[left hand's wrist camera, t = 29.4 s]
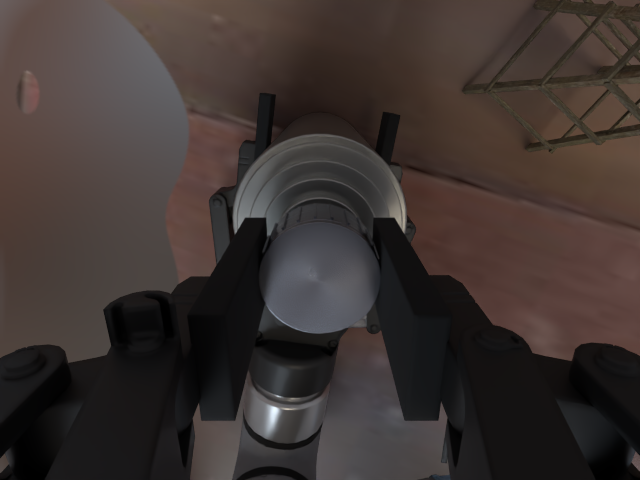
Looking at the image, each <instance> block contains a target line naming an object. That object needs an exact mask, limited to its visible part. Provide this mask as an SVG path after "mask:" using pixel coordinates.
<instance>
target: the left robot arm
mask: <svg viewBox="0 0 640 480" xmlns="http://www.w3.org/2000/svg"><path fill="white" fill-rule="evenodd" d="M266 239H267V221H266V217H245V219H244V220H243V222H242V224H241V225H240V227H239V229H238V230H237V232H236V234H235V235H234V237H233V239H232V240H231V242H230V244H229V245H228V247H227V249H226V251H225V252H224V254H223V256H222V257H221V259H220V261H219V262H218V264H217V266H216V267H215V269H214V271H213V272H212V274H211V276H210V277H190V278H188V279H186V280H185V281H183V282H181V283H180V284H178V285H177V287H176V288H175V289H174V291H173V292H172V293H171V294H170V293H167V292H163V291H142V292H136V293H132V294H129V295H126V296H123V297H120V298H118V299H116V300H115V301H113V302H111V303H110V304H109V305H108V306H107V307H106V308H105V309H104V310H103V311H104V315H105V320H106V324H107V329H108V333H109V338H110V342H111V348H110V350H109V352H108V354H107V355H105V356H101V357H97V358H92V359H87V360H82V361H77V362H71V363H68V361H67V357H66V353H65V351H64V350H63V349H62V348H61V347H59V346H54V345H38V346H36V345H34V346H29V347H27V348H21V349H18V350H16V351H15V352H13V353H10V354H8V355H5V356H3V357H1V358H0V458H1V457H2V456H3V455H4V454H5V455H6V457H7V460H8V463H9V465H8V466H7V467H6V468H5V469H4V470H3V471H2V472H1V473H0V480H190V472H191V464H192V456H193V448H194V440H195V433H194V426H193V419H192V418H193V416H194V413H195V411H196V408H197V405H198V403H199V406H200V414H201V421H235V419H236V415H237V411H238V407H239V404H240V400H241V396H242V392H243V388H244V384H245V380H246V376H247V372H248V369H249V365H250V361H251V357H252V353H253V349H254V345H255V341H256V337H257V334H258V330H259V326H260V322H261V318H262V314H263V310H264V306H265V303H264V301H263V299H262V296H261V294H260V285H259V265H260V262H261V259H262V256H263V254H261V253H262V250H263V247H264V245H265V242H266ZM372 240H373V242H374V244H375V247H376V250H377V253H378V256H379V264H380V267H381V281H380V292H379V295H378V297H377V299H376V302H375V307H376V311H377V315H378V319H379V323H380V327H381V331H382V335H383V338H384V342H385V346H386V350H387V354H388V358H389V362H390V366H391V370H392V373H393V377H394V381H395V385H396V389H397V393H398V397H399V401H400V405H401V408H402V412H403V416H404V420H405V421H438V419H439V412H440V404H441V402H442V404H443V407H444V409H445V412H446V414H447V417H448V419H447V426H446V432H445V439H444V446H443V453H442V460H441V462H442V463H447V458H448V463H449V471H450V479H451V480H640V471H639V470H638V469H637V468H636V467H635V466H634V465H633V464H632V463H631V462H632V459H633V456H634V454H635V451H636V452H637V453H638V454H639V455H640V356H639V355H637V354H635V353H632V352H630V351H628V350H626V349H624V348H622V347H619V346H613V345H611V344H602V343H587V344H581V345H580V346H579V347H577V348H576V349H575V352H574V356H573V359H572V361H568V360H562V359H557V358H552V357H547V356H542V355H538V354H534V353H532V351H531V349H530V347H529V345H528V344H527V343H526V341H525V340H524V339H523V338H522V337H520V336H519V335H517V334H516V333H514V332H513V331H510V330H508V329H505V328H503V327H500V326H495V325H493V324H492V323H491V322H490V320H489V319H488V318H487V316H486V315H485V314H484V312H483V311H482V309H481V308H480V307H479V305H478V304H477V303H475V300H474V299H473V297H472V296H471V295H469V292H468V291H467V289H466V288H465V287H464V285H463V284H462V283H461V282H459V281H457V280H456V279H454V278H453V277H451V276H449V275H428V273H427V271H426V269H425V268H424V266H423V264H422V263H421V261H420V259H419V258H418V256H417V254H416V253H415V251H414V249H413V248H412V246H411V244H410V243H409V241H408V239H407V237H406V236H405V234H404V232H403V231H402V229H401V227H400V226H399V224H398V222H397V221H396V219H395V217H373V236H372Z"/></svg>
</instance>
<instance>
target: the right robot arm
mask: <svg viewBox="0 0 640 480" xmlns="http://www.w3.org/2000/svg"><path fill="white" fill-rule="evenodd" d="M275 97H276V95H274V94H268V93H260V97H259V108H258V119H257V131H256V141H250V140H246V141H244V142H243V143H242V145H241V147H240V149H239V163H238V175H237V184H236V185H235V186H232V187H222V188H220V189H219V190H218V191H217V192H216V193H215V194H214V195H213V196H211V198H210V200H209V206H210V214H211V222H212V231H213V239H214V247H215V256H216V264H218V262H219V261H220V259H221V257H222V256H223V254H224V252H225V251H226V249H227V247H228V245H229V244H230V242H231V240H232V239H233V237H234V235H235V234H234V229H233V216H232V215H233V204H234V200H235V195H236V192H237V189H238V187H239V184H240V182H241V180H242V178H243V176H244V175H245V173H246V172H247V170H248V169H249V168H250V166H251V165H252V164H253V163H254V161H255V160H256V159H257V158H258V157H259V156H260V155H261V154H262V153H263V152H264V151H265V150H266V149H267V148H268V147H269V146H270V144H271V136H272V126H273V116H274V106H275ZM399 119H400V115H397V114H394V113H388V112H383V115H382V120H381V125H380V130H379V135H378V140H377V145H376V150H375V151H376V152H377V153H378V154H379V155H380V157H381V158H382V159H383V160H384V161H385V162H386V163H387V164H388V165H389V167H390V168H391V169H392V171H393V172H394V174H395V175H396V177H397V179H398V181H399V183H401V178H402V174H403V173H402V167H401V166H400V165H399V164H398V163H395V162H391V157H392V152H393V147H394V143H395V138H396V133H397V129H398V124H399ZM415 232H416V227H415V225H414V224H413V222H412V221H411V220H410V218H409V217H408V216H407V225H406V232H405V236H406V237H407V239H408V241H409V243H411V241H412V239H413V237H414V234H415ZM361 327H366V328H367V331H368V332H369V333H371V334H376V333H378V332H379V331H380V330H381V327H380V323H379V319H378V315H377V311H376V307H375V303H374V305H373V307H372V308H371V309H370V311H369V312H368V313H367V314H366V315H365V316H364V317H363V318H362V319H361V320H359V321H358V322H356V323H355V324H353V325H351V326H350V327H348V328H361ZM348 328H345V329H343V330H340V331H336V332H331V333H320V334H318V333H308V332H303V331H300V330H297V329H294V328H292V327H290V326H288V325H286V324H284V323H283V322H281V321H280V320H279V319H278V318H276V317H275V316H274V315H273V314H272V313H271V311H270V310H269V309H268V307H267V306H266V304H265V306H264V310H263V314H262V318H261V322H260V326H259V330H258V334H257V337H256V341H255V345H254V349H253V353H252V357H251V361H250V365H249V369H248V373H247V378H246V388H245V399H244V410H243V423H242V431H241V438H240V445H239V451H238V457H237V461H236V466H235V470H234V474H233V479H232V480H316V461H317V452H318V445H319V439H320V432H321V427H322V424H323V419H324V416H325V411H326V406H327V401H328V396H329V391H330V383H331V382H330V381H331V379H332V375H333V370H334V365H335V360H336V355H337V349H338V344H339V340H340V338H341V337H342V335H343V334H344V333H345V332H346V331H347V329H348ZM419 480H451V479H450V475H444V476H438V475H431V476H430V477H429V478H424V479H419Z"/></svg>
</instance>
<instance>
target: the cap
mask: <svg viewBox="0 0 640 480" xmlns="http://www.w3.org/2000/svg"><path fill="white" fill-rule="evenodd" d="M261 254H263V256H262V259H261V262H260V265H259V285H260V294H261V296H262V299H263V301H264V303H265V304H266V306H267V307H268V309H269V310H270V311H271V313H272V314H273V315H274V316H275V317H276V318H278V319H279V320H280V321H281V322H283V323H284V324H286V325H288V326H290V327H292V328H294V329H297V330H300V331H303V332H308V333H318V334H320V333H331V332H336V331H340V330H343V329H345V328H348V327H350V326H351V325H353V324H355V323H356V322H358V321H359V320H361V319H362V318H363V317H364V316H365V315H366V314H367V313H368V312H369V311H370V309H371V308H372V307H373V305H374V303H375V302H376V299H377V297H378V295H379V292H380V281H381V267H380V264H379V256H378V253H377V250H376V247H375V244H374V242H373V240H372V238H371V235H370V232H369V229H368V228H365V226H364V225H363V223H362V222H361V221H360V218H359V217H356V216H355V215H353V214H352V213H350V212H349V211H347V209H346V208H345V209H343V208H340V207H338V206H334V205H332V204H317V203H314V204H310V205H305V206H302V207H301V206H299V208H297V209H294V210H292V211H291V212H289V213H285V216H284V217H283V218H281V219H280V221H279V222H278V223H275V224H274V227H273V230H272V232H271V234H270V235H268V236H267V239H266V242H265V245H264V247H263V250H262V253H261Z"/></svg>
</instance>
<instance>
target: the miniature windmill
mask: <svg viewBox="0 0 640 480" xmlns="http://www.w3.org/2000/svg"><path fill="white" fill-rule="evenodd" d="M583 1H584V2H585V3H581V2H571V1H570V0H560V1H558V0H538V1H537V2H536V3H535V4H534V5H533V7H534V8H535V9H536V10H545V11H551V12H550V13H549V14H548V15H547V17H546V18H545V19H544V20H543V21H542V22H541V24H540V25H539V26H538V27H537V28H536V29H535V31H534V32H533V33H532V34H531V35H530V36H529V38H528V39H527V40H526V41H525V42H524V43H523V45H522V46H521V47H520V48H519V49H518V50H517V52H516V53H515V54H514V55H513V56H512V58H511V59H510V60H509V61H508V62H507V63H506V65H505V66H504V67H503V68H502V69H501V70H500V72H499V73H498V74H497V75H496V76H495V77H494V79H493V80H492V81H491V82H490V83H487V84H475V85H467V86H466V87H465V88H464V89H463V90H462V91H463V93H464V94H476V93H488V94H489V95H490V96H491V97H492V98H493V99H494V100H495V101H496V102H498V103H499V104H500V105H501V106H502V107H503V108H504V109H505V110H506V111H507V112H508V113H509V114H510V115H512V116H513V117H514V118H515V119H516V120H517V121H518V122H519V123H520V124H521V125H522V126H523V127H525V128H526V129H527V130H528V131H529V132H530V133H531V134H532V135H533V136H534V137H535V138H536V139H538V140H539V141H540V142H537V143H532V144H530V145H529V146H528V147H527V148H526V150H527V151H528V152H532V151H538V150H545V149H550V150H549V152H550V153H553V152H554V151H555V150H556V149H557V148H558V147H565V146H571V145H578V144H584V143H591V142H594V143H595V144H596V145H601V144H602V143H603V142H605V141H606V140H610V139H617V138H624V137H630V136H637V135H640V124H638V125H632V126H627V127H621V128H619V127H620V126H621V125H622V124H623V123H624V122H625V121H626V120H627V119H628V118H629V117H630V116H631V115H632V114H633V115H634V116H635V117H636V118H637V120H638V121H639V122H640V108H639V107H640V99H639V100H638V101H637V102H636V103H634V102H633V101H632V100H631V99H630V98H629V97H628V96H627V95H626V94H625V93H624V92H623V91H622V90H621V89H620V88H619V87H618V86H617V85H619V84H635V83H640V65H631V64H630V63H629V62H628V61H629V60H630V59H631V58H632V57H633V56H635V57H636V58H637V59H638V61H639V62H640V53H639V52H638V51H639V50H640V30H639V29H638V28H637V27H636V26H635V25H634V24H633V23H632V21H640V4H636V5H635V6H634V7H628V6H617V5H616V4H615V3H614V2H613V1H609V2H608V3H607V4H606V5H604V4H594V3H593V2H592V1H591V0H583ZM556 12H562V13H571V14H576V15H577V16H578V17H579V18H580V19H581V20H582V21H583V22H584V23H585V25H586V26H587V27H588V28H587V29H586V30H585V32H584V33H583V34H582V35H581V36H580V37H579V38H578V39H577V41H576V42H575V43H574V44H573V45H572V46H571V47H570V48H569V49H568V51H567V52H566V53H565V54H564V55H563V56H562V57H561V58H560V60H559V61H558V62H557V63H556V64H555V65H554V66H553V67H552V68H551V70H550V71H549V72H548V73H547V74H546V75H545V76H544V77H543V79H535V80H523V81H511V82H499V83H496V82H497V81H498V80H499V79H500V77H501V76H502V75H503V74H504V73H505V72H506V70H507V69H508V68H509V67H510V66H511V65H512V63H513V62H514V61H515V60H516V59H517V58H518V56H519V55H520V54H521V53H522V52H523V51H524V49H525V48H526V47H527V46H528V45H529V44H530V42H531V41H532V40H533V39H534V38H535V37H536V35H537V34H538V33H539V32H540V31H541V30H542V28H543V27H544V26H545V25H546V24H547V23H548V22H549V20H550V19H551V18H552V17H553V16H554V15H555V13H556ZM585 15H588V16H597V18H596V19H595V20H594V22H593V23H591V22H590V21H589V20H588V19H587V18H586V17H585ZM608 18H614V19H620V20H621V21H622V22H623V23H624V24H625V25H626V26H627V27H628V28H629V30H630V31H631V32H632V33H633V34H634V35H635V36H636V37H637V38H638V40H637V41H636V43H635V44H634V45H632V44H631V43H630V42H629V41H628V40H627V39H626V38H625V36H624V35H623V34H622V33H621V32H620V31H619V30H618V29H617V28H616V27H615V26H614V25H613V23H612V22H611V21H610V20H609V19H608ZM601 22H603V23H604V24H605V25H606V26H607V27H608V28H609V29H610V30H611V32H612V33H613V34H614V35H615V36H616V37H617V38H618V39H619V40H620V41H621V42H622V43H623V44H624V46H625V47H626V48H627V49H628V51H627V52H626V53H625V54H624V55H623V56H622V55H621V54H620V53H619V52H618V51H617V50H616V48H615V47H614V46H613V45H612V44H611V43H610V42H609V41H608V40H607V39H606V38H605V37H604V36H603V35H602V34H601V32H600V31H599V30H598V29H597V28H596V27H597V26H598V25H599V24H600V23H601ZM592 32H593V33H594V34H595V35H596V36H597V37H598V38H599V39H600V40H601V41H602V43H603V44H604V45H605V46H606V47H607V48H608V49H609V50H610V51H611V52H612V53H613V54H614V55H615V56H616V57H617V58H618V59H619V61H618V62H617V63H616V64H615V65H614V66H603V67H602V68H601V69H600V70H599V71H598V72H597V73H598V74H596V75H584V76H572V77H560V78H551V77H552V76H553V75H554V74H555V73H556V72H557V71H558V70H559V68H560V67H561V66H562V65H563V64H564V63H565V62H566V61H567V60H568V58H569V57H570V56H571V55H572V54H573V53H574V52H575V51H576V50H577V48H578V47H579V46H580V45H581V44H582V43H583V42H584V41H585V40H586V38H587V37H588V36H589V35H590V34H591V33H592ZM603 85H604V86H605V87H606V88H607V89H608V90H607V91H606V92H605V93H604V94H603V95H602V96H601V97H600V98H599V99H598V100H597V101H596V102H595V103H594V104H593V105H592V106H591V107H590V108H589V109H588V110H587V111H586V113H585V114H584V115H583V116H582V117H581V118H580V119H579V118H578V117H577V116H576V115H575V114H574V113H573V112H572V111H571V110H570V109H569V108H568V107H567V106H566V105H564V104H563V103H562V102H561V101H560V100H559V99H558V98H557V97H556V96H555V95H554V94H553V93H552V92H551V91H550V90H549V89H555V88H571V87H587V86H603ZM523 90H540V91H541V92H542V93H543V94H544V95H546V96H547V97H548V98H549V99H550V100H551V101H552V102H553V103H554V104H555V105H556V106H557V107H558V108H559V109H560V110H561V111H562V112H563V113H564V114H565V115H566V116H567V117H568V118H569V119H570V120H571V121H572V122H573V123H574V125H573V126H572V127H571V128H570V129H569V130H568V131H567V132H566V133H565V134H564V136H563V137H562V138H560V139H554V140H549V141H546V140H545V139H544V138H543V137H542V136H541V135H540V134H539V133H538V132H536V131H535V130H534V129H533V128H532V127H531V126H530V125H529V124H528V123H527V122H526V121H525V120H524V119H522V118H521V117H520V116H519V115H518V114H517V113H516V112H515V111H514V110H513V109H512V108H511V107H510V106H508V105H507V104H506V103H505V102H504V101H503V100H502V99H501V98H500V97H499V96H498V95H497V94H496V93H495V92H507V91H523ZM610 93H612V94H613V95H614V96H615V97H616V98H617V99H618V100H619V101H620V102H621V103H622V104H623V105H624V106H625V107H626V108H627V109H628V111H627V112H626V113H625V114H624V115H623V116H622V117H621V118H620V119H619V120H618V121H617V122H616V123H615V124H614V125H613V126H612V127H611V128H610V129H609V130H604V131H599V132H592V131H591V130H590V129H589V128H588V127H587V126H586V125H585V124H584V123H583V121H584V120H585V119H586V118H587V117H588V116H589V115H590V114H591V112H592V111H593V110H594V109H595V108H596V107H597V106H598V105H599V104H600V103H601V102H602V101H603V100H604V99H605V98H606V97H607V96H608V95H609V94H610ZM577 127H579V128H580V129H581V130H582V131H583V132H584V133H585V134H582V135H576V136H571V137H568V136H569V135H570V134H571V133H572V132H573V131H574V130H575V129H576V128H577Z"/></svg>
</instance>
